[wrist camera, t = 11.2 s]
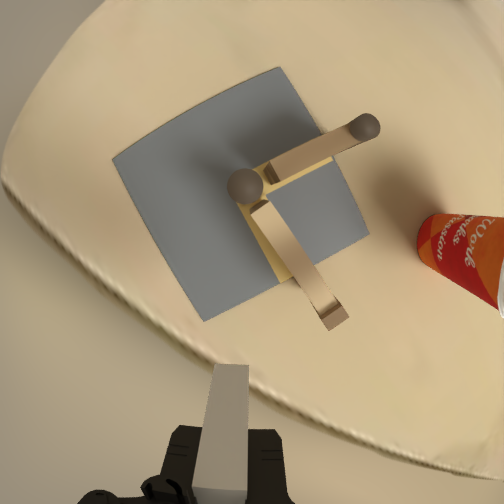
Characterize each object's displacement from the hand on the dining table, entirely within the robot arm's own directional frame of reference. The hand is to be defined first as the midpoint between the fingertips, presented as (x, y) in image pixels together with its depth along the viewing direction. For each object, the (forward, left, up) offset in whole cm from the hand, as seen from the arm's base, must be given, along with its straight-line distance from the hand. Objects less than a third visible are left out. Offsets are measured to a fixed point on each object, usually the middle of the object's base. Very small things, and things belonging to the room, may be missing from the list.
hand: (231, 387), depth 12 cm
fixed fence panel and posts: (-8, +9, -14) cm, 18 cm away
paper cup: (+5, +20, -14) cm, 25 cm away
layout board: (-8, +4, -14) cm, 16 cm away
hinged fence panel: (-2, +6, -13) cm, 14 cm away
